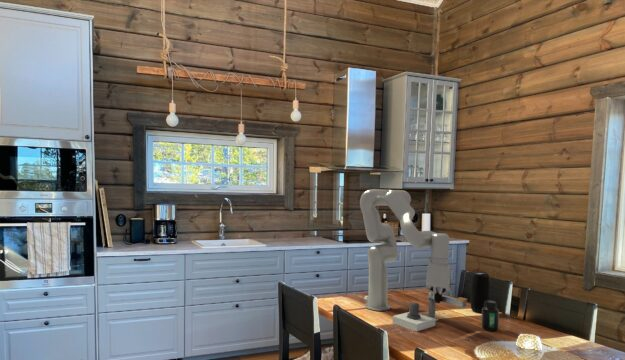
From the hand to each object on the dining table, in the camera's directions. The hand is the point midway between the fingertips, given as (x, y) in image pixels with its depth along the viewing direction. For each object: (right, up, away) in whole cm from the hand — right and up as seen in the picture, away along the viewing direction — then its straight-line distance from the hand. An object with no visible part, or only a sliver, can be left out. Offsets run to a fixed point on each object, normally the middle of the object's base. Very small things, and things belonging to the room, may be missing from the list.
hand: (437, 302), depth 183 cm
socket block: (-8, -10, 0) cm, 13 cm away
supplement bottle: (+22, -11, -3) cm, 25 cm away
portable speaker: (+28, -12, +24) cm, 39 cm away
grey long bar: (+4, 0, 0) cm, 4 cm away
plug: (-11, -9, -2) cm, 15 cm away
